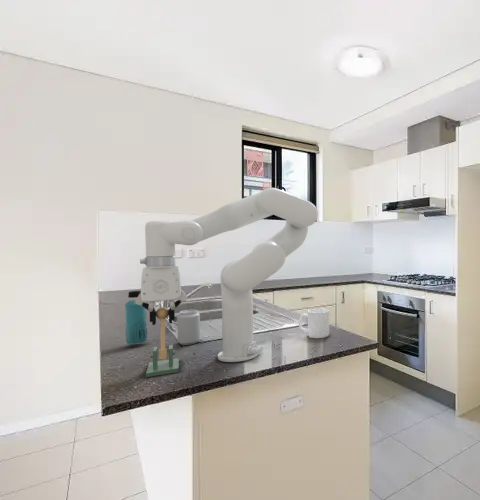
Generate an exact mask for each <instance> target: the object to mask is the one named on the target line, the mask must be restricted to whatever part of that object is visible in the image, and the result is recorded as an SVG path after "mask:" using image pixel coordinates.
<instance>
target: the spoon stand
mask: <svg viewBox="0 0 480 500" xmlns="http://www.w3.org/2000/svg"><path fill="white" fill-rule="evenodd" d="M158 350H159V348H158V346H154V347H153V348H152V352H150V358H151V359H152V361H149V362H148V365H147V368H146V372H145V378H150V377H158V376H162V375H163V376H164V375H169V374H175V373H180V372H179V371H180V358H178V357H177V358H174V356H175V355H176V351H175V350H176V349H174V345H173V344H169V345H168V359H162V360H159V352H158Z"/></svg>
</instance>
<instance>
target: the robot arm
mask: <svg viewBox="0 0 480 500" xmlns="http://www.w3.org/2000/svg"><path fill="white" fill-rule="evenodd" d="M273 215H274V216H276V217H278V218H281V219H282V220H286V221H285V224H284V227H282V229H280V230H279V231H277V232H276V233H275V234H273V235H272V236H271V237H268V239H266V240H264V241H262V242H260V243H259V244H257V245H255V246H254V247H253V249H252V250H251V252H249V253H247V254H246V255H245V256H243V257H241V258H240V259H236V260H235V259H234V260H231V261H228V262H226V263H225V265H224V266H223V267H222V268H221V271H220V292H221V294H220V295H221V325H222V327H221V331H222V332H221V334H222V335H221V336H222V338H221V340H222V341H221V342H222V350H221V351H220V352H219V353H218V354H217V360H218V361H220V362H223V363H239V362H245V361H249V360H252V359H255V358H256V357H258V356H259V355H261V354H262V352H263V350H264V346H262V345H257V341H256V340H254V297H253V289H254V288H255V287H257V286H258V285H260V284H262V283H263V282H265V281H266V280H268V278H270V277H271V276H273V275H274V274H276V273H277V272H278V271H280V269H282V267H283V266H284V265H285V262H286V258H287V257H289V256H290V255H291V254H292V253H294V252H295V251H297V250H298V249H299V248H300V247H301V246H303V244H304V242H305V241H306V238H307V235H308V230H309V227H310V226H312V225H314V224H315V223H316V222H317V220H318V218H319V212H318V208H317V207H316V205H315V204H314V203H312V201H309V200H306V199H305V198H302V197H299V196H297V195H294V194H291V193H289V192H287V191H284V190H282V189H279V188H276V187H267V188H265V189H264V190H262V191H259V192H256V193H254V194H251V195H248V196H246V197H243V198H240V199H237V200H235V201H232V202H229V203H226V204H224V205H222V206H221V207H219V208H218V209H216V210H214V211H211V212H209V213H207V214H204V215H201V216H199V217H196V218H194V219H190V220H182V221H181V220H180V221H179V220H178V221H169V220H150V221H147V222H145V226H144V234H145V235H144V236H145V237H144V239H145V257H144V258H140V259H139V264H141V265H142V264H143V265H145V267H143V268H142V271H141V278H140V279H141V280H140V291H141V293H140V294H139V296H138V297H135V298H136V299H134V300H135V303H136V304H138V305H141V306H143V307H144V308H146V311H148V312H149V323H152V324H151V325H152V326H155V325H156V324H157V317H156V311H157V309H155V304H156V303H155V302H167V301H168V303H169V309H168V310H169V316H168V324H172V323H173V321H175V319H176V315H175V310H176V308H177V307H179V306H180V305H181V304H182V303H184V302H186V300H188V296H187V294H186V292H185V291H184V290H183V289H182V283H181V282H182V281H181V274H180V268H179V266H177V264H176V245H182V246H193V245H197V244H199V243H200V242H202V241H205V240H207V239H210V238H213V237H215V236H218V235H220V234H223V233H227V232H232V231H235V230H238V229H241V228H243V227H245V226H246V227H247V226H249V225H251V224H254V223H256V222H258V221H261V220H263V219H266V218H269V217H271V216H273ZM144 301H145V302H144Z"/></svg>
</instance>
